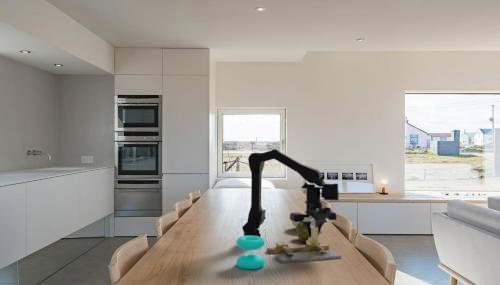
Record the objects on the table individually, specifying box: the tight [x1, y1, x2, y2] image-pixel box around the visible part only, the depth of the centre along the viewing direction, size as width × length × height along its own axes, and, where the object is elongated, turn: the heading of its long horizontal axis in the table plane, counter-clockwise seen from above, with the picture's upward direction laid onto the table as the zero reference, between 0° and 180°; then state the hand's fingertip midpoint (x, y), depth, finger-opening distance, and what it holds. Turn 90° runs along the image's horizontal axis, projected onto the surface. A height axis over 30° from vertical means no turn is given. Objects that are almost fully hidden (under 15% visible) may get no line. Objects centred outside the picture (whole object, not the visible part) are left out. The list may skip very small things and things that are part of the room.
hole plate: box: [274, 249, 342, 264], centre depth 146 cm, size 24×8×1 cm, turn 105°
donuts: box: [235, 235, 265, 270], centre depth 136 cm, size 10×10×10 cm
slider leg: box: [305, 226, 324, 252], centre depth 154 cm, size 4×12×8 cm, turn 15°
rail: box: [266, 241, 330, 255], centre depth 152 cm, size 26×12×3 cm, turn 105°
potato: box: [295, 222, 308, 243], centre depth 171 cm, size 8×13×8 cm, turn 172°
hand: (313, 237), depth 157 cm, fingers closed on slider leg, 3 cm apart
